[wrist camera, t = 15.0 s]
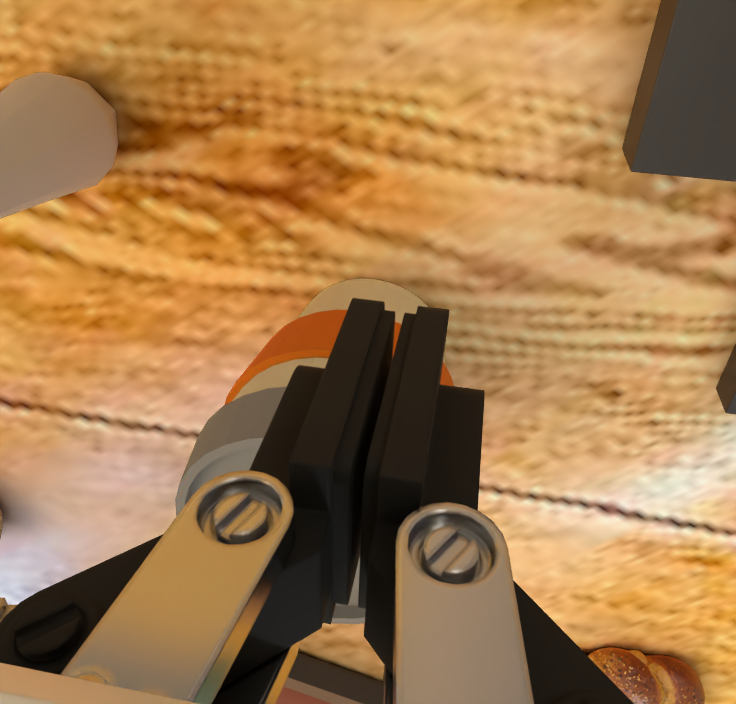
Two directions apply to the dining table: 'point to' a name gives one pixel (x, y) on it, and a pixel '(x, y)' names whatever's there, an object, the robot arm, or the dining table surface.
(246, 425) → the reusable coffee cup
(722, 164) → the fryer panel
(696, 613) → the dining table surface
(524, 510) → the dining table surface
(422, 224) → the dining table surface
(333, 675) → the toaster
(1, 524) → the ceramic mug
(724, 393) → the block
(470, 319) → the dining table surface
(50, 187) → the salt shaker
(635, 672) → the braided bread roll
